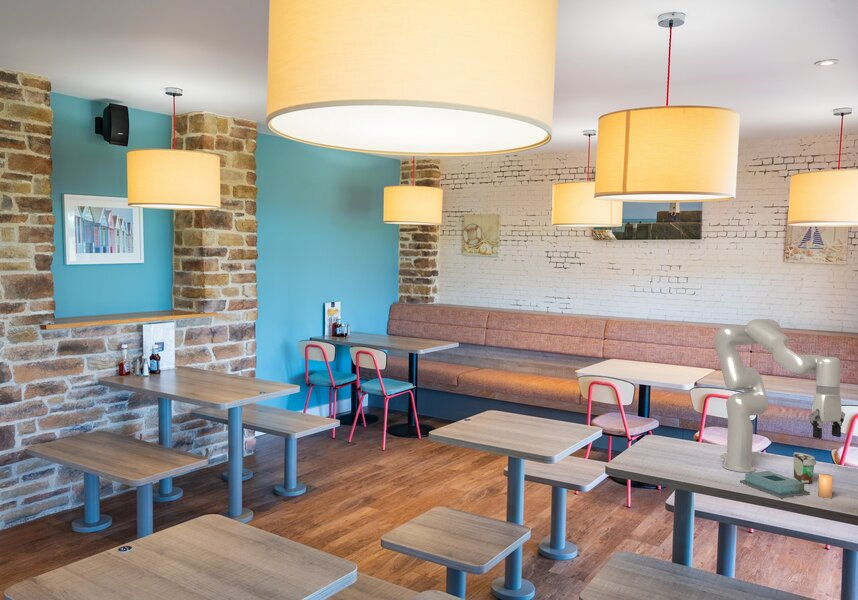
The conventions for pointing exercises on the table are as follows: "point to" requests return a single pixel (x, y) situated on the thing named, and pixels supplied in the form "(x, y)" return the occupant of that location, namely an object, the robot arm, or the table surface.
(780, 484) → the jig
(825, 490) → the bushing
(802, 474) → the food container
